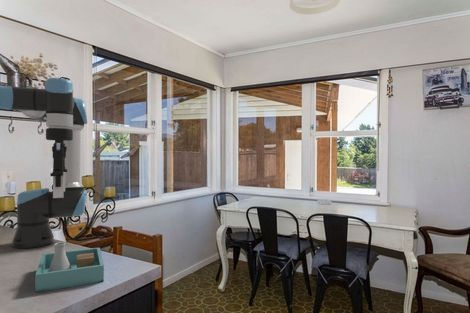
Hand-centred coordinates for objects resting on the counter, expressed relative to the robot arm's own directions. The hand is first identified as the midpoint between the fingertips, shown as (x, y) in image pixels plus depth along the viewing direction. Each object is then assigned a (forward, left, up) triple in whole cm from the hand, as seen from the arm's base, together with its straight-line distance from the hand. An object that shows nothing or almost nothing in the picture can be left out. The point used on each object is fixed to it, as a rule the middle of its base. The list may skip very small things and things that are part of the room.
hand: (59, 194), depth 101 cm
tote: (0, +3, -26) cm, 27 cm away
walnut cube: (0, +7, -26) cm, 27 cm away
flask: (0, 0, -26) cm, 26 cm away
